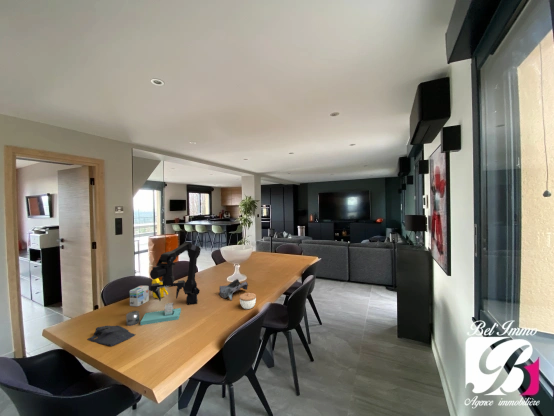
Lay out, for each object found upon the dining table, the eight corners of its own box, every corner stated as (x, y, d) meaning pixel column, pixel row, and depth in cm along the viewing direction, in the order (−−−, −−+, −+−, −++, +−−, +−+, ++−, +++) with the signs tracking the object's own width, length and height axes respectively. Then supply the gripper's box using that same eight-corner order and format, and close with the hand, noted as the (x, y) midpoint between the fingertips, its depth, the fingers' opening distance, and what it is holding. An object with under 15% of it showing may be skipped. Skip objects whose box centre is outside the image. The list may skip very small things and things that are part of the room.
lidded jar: (259, 307, 148) (259, 292, 148) (247, 313, 141) (246, 298, 140) (249, 302, 156) (248, 289, 156) (236, 308, 148) (236, 293, 148)
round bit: (141, 320, 135) (140, 310, 135) (137, 325, 129) (137, 315, 129) (128, 321, 134) (128, 311, 134) (124, 327, 127) (124, 316, 127)
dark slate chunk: (106, 353, 106) (106, 343, 106) (84, 340, 116) (84, 331, 116) (139, 336, 119) (139, 327, 119) (117, 326, 130) (117, 318, 130)
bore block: (180, 311, 145) (180, 307, 145) (178, 320, 134) (178, 315, 134) (145, 316, 139) (145, 312, 139) (140, 325, 128) (140, 321, 128)
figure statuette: (170, 297, 168) (169, 268, 168) (161, 301, 161) (160, 271, 161) (155, 293, 177) (155, 265, 176) (146, 297, 170) (145, 268, 170)
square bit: (173, 315, 140) (172, 302, 140) (172, 318, 136) (171, 305, 136) (166, 316, 139) (165, 303, 139) (165, 319, 135) (164, 306, 135)
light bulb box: (137, 306, 154) (137, 291, 154) (129, 306, 155) (128, 290, 155) (149, 300, 164) (149, 285, 164) (141, 299, 166) (141, 285, 166)
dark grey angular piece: (216, 295, 171) (216, 283, 171) (239, 288, 185) (239, 277, 184) (228, 302, 158) (228, 289, 158) (252, 294, 171) (251, 282, 171)
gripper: (185, 268, 148) (186, 292, 148) (153, 272, 142) (154, 296, 143) (183, 273, 137) (184, 299, 137) (149, 277, 132) (150, 303, 132)
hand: (168, 299), depth 138 cm, fingers open, 9 cm apart
